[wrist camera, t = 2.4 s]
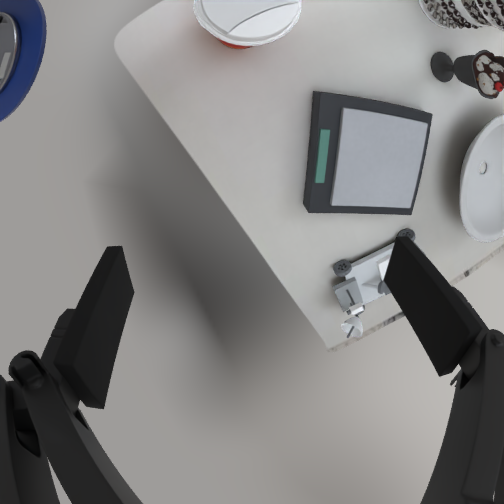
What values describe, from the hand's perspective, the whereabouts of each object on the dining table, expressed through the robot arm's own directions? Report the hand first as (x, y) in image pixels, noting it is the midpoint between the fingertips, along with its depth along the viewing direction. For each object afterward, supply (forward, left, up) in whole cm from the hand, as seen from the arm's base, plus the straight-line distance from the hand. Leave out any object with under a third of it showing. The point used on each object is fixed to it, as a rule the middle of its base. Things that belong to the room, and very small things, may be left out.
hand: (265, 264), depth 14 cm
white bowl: (+44, 0, -27) cm, 52 cm away
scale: (+18, -1, -27) cm, 32 cm away
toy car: (+24, -22, -27) cm, 42 cm away
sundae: (+30, +15, -27) cm, 43 cm away
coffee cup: (0, +15, -27) cm, 31 cm away
